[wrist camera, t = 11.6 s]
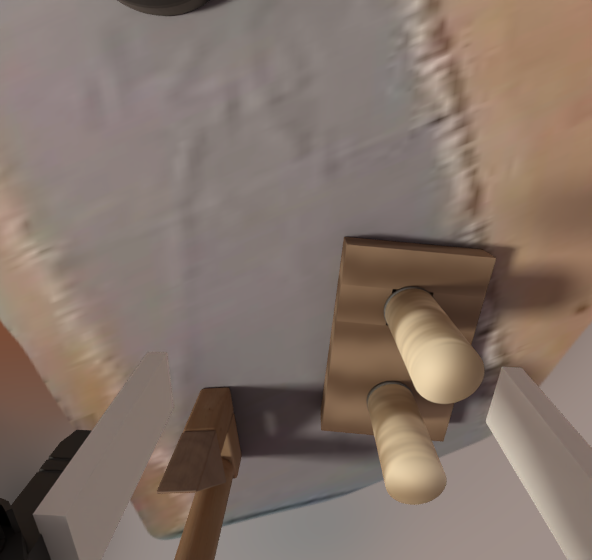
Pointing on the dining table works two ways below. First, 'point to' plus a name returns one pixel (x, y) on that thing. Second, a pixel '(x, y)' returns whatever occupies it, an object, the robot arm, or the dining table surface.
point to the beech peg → (432, 347)
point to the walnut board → (396, 354)
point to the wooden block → (205, 471)
